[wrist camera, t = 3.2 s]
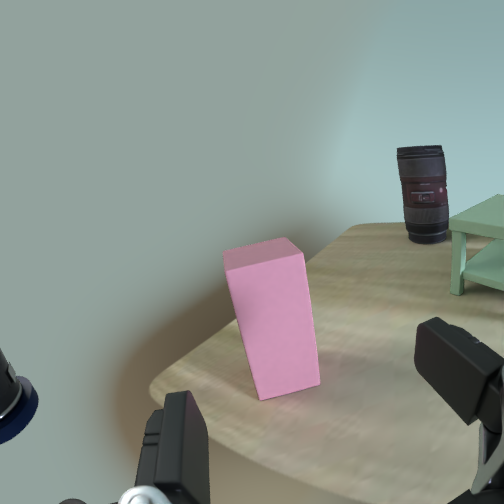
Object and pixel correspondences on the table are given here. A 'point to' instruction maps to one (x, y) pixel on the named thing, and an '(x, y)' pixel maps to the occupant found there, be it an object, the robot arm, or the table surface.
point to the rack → (490, 257)
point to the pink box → (274, 315)
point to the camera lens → (424, 192)
